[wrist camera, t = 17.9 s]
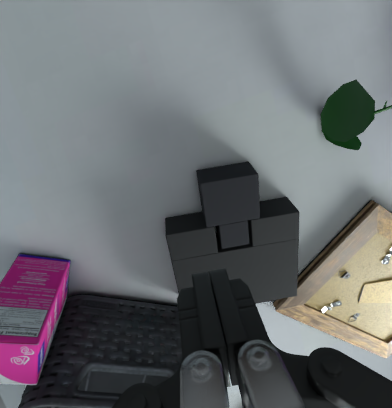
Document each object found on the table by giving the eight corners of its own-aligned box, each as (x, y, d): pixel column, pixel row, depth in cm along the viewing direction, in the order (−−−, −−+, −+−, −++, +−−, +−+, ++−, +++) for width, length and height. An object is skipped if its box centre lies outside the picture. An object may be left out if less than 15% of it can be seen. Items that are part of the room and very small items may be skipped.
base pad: (182, 295, 39) (184, 316, 36) (165, 218, 33) (165, 235, 30) (286, 276, 39) (297, 296, 36) (286, 196, 34) (299, 211, 31)
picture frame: (476, 272, 43) (370, 198, 35) (489, 280, 41) (380, 205, 33) (380, 350, 49) (272, 302, 41) (387, 360, 47) (276, 312, 40)
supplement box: (70, 295, 37) (36, 388, 27) (18, 290, 36) (-37, 385, 26) (73, 258, 34) (37, 346, 24) (18, 251, 33) (-44, 341, 23)
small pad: (205, 233, 35) (210, 251, 32) (196, 170, 31) (200, 183, 28) (252, 225, 35) (261, 242, 32) (248, 161, 31) (258, 173, 28)
